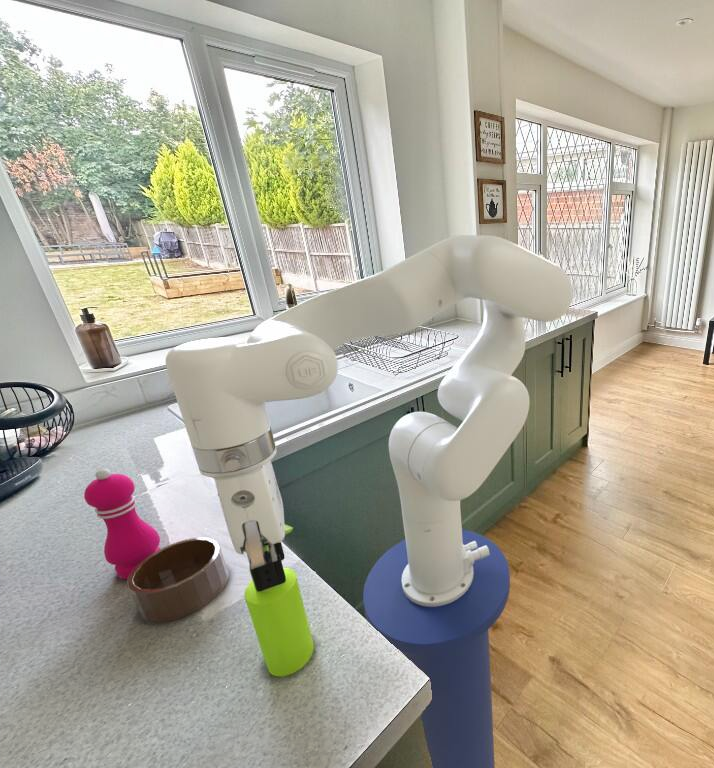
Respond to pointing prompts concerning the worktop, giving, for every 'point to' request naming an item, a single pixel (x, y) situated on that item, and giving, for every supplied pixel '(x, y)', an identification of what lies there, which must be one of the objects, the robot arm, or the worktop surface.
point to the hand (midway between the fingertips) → (271, 572)
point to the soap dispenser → (281, 623)
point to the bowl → (178, 579)
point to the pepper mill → (121, 522)
